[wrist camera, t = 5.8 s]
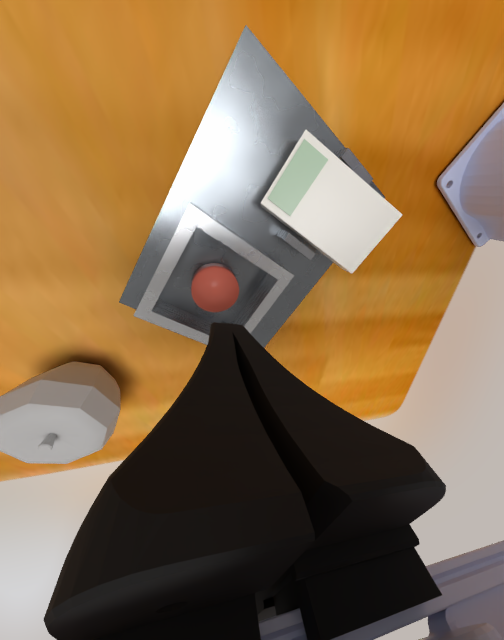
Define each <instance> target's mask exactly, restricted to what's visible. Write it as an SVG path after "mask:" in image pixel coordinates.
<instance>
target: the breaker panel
mask: <svg viewBox="0 0 504 640" xmlns="http://www.w3.org/2000/svg"><path fill="white" fill-rule="evenodd" d="M305 130H307V131H308V132H310V133H311V134H312V135H313V136H314V137H315V138H316V139H317V140H319V141H320V142H321V143H322V144H323V145H324V146H325V147H327V148H328V149H329V150H330V151H331V152H332V153H333V154H334V155H336V156H337V157H338V158H339V159H340V160H341V161H342V162H343V163H345V164H346V165H347V166H348V167H349V168H350V169H351V170H353V171H354V172H355V173H356V174H357V175H358V176H359V177H360V178H362V179H363V180H364V181H365V182H366V183H367V184H368V185H369V186H371V187H372V188H373V189H374V190H375V191H376V192H377V193H379V194H380V195H381V196H382V197H383V198H384V199H385V197H384V195H383V194H382V193H381V192H380V190H379V189H378V188H377V187H376V185H375V184H374V183H373V182H372V180H373V178H372V177H371V175H370V174H369V173H368V172H367V170H366V169H365V168H364V167H363V165H362V164H361V163H360V162H359V160H358V159H357V158H356V157H355V155H354V154H353V153H352V152H351V150H350V149H349V148H345V147H344V146H343V145H342V143H341V142H340V141H339V140H338V138H337V137H336V136H335V135H334V133H333V132H332V131H331V130H330V128H329V127H328V126H327V125H326V124H325V122H324V121H323V120H322V119H321V117H320V116H319V115H318V114H317V112H316V111H315V110H314V109H313V107H312V106H311V105H310V104H309V102H308V101H307V100H306V99H305V98H304V96H303V95H302V94H301V93H300V91H299V90H298V89H297V88H296V86H295V85H294V84H293V83H292V81H291V80H290V79H289V78H288V77H287V75H286V74H285V73H284V72H283V70H282V69H281V68H280V67H279V65H278V64H277V63H276V62H275V60H274V59H273V58H272V57H271V55H270V54H269V53H268V52H267V51H266V49H265V48H264V47H263V46H262V44H261V43H260V42H259V41H258V39H257V38H256V37H255V36H254V34H253V33H252V32H251V31H250V29H249V28H248V27H247V26H245V28H244V30H243V32H242V34H241V36H240V39H239V41H238V43H237V45H236V47H235V50H234V52H233V54H232V56H231V58H230V60H229V63H228V65H227V67H226V69H225V71H224V74H223V76H222V78H221V80H220V82H219V85H218V87H217V89H216V91H215V93H214V95H213V98H212V100H211V102H210V104H209V106H208V109H207V111H206V113H205V115H204V117H203V119H202V122H201V124H200V126H199V128H198V130H197V133H196V135H195V137H194V139H193V141H192V144H191V146H190V148H189V150H188V152H187V154H186V157H185V159H184V161H183V163H182V165H181V168H180V170H179V172H178V174H177V176H176V178H175V181H174V183H173V185H172V187H171V189H170V192H169V194H168V196H167V198H166V200H165V203H164V205H163V207H162V209H161V211H160V213H159V216H158V218H157V220H156V222H155V224H154V227H153V229H152V231H151V233H150V235H149V237H148V240H147V242H146V244H145V246H144V248H143V251H142V253H141V255H140V257H139V259H138V262H137V264H136V266H135V268H134V270H133V272H132V275H131V277H130V279H129V281H128V283H127V286H126V288H125V290H124V292H123V294H122V296H121V299H120V301H119V303H122V304H124V305H127V306H129V307H132V308H134V309H137V310H136V312H135V314H134V316H135V317H138V318H140V319H143V320H145V321H148V322H150V323H153V324H155V325H158V326H161V327H163V328H166V329H168V330H171V331H173V332H176V333H178V334H181V335H183V336H186V337H188V338H191V339H194V340H196V341H199V342H201V343H204V344H206V345H208V340H209V333H210V327H211V324H212V323H214V322H216V323H228V324H240V325H243V326H244V327H245V328H246V329H247V330H248V332H249V333H250V334H251V335H252V336H253V337H254V338H255V339H256V340H257V341H258V342H259V343H260V345H261V346H262V347H263V348H264V347H265V346H266V345H267V343H268V342H269V341H270V340H271V339H272V337H273V336H274V335H275V334H276V332H277V331H278V330H279V329H280V327H281V326H282V325H283V324H284V322H285V321H286V320H287V319H288V317H289V316H290V315H291V314H292V313H293V311H294V310H295V309H296V308H297V306H298V305H299V304H300V303H301V301H302V300H303V299H304V298H305V296H306V295H307V294H308V293H309V291H310V290H311V289H312V288H313V287H314V285H315V284H316V283H317V282H318V280H319V279H320V278H321V277H322V275H323V274H324V273H325V272H326V270H327V269H328V268H329V267H330V266H331V264H332V263H333V261H331V260H330V259H329V258H327V257H326V256H325V255H323V254H322V253H321V252H320V251H318V250H317V249H316V248H314V247H313V246H312V245H310V244H309V243H308V242H306V241H305V240H304V239H303V238H301V237H300V236H299V235H297V234H296V233H295V232H293V231H292V230H291V229H290V228H288V227H287V226H286V225H284V224H283V223H282V222H280V221H279V220H278V219H276V218H275V217H274V216H273V215H271V214H270V213H269V212H267V211H266V210H265V209H263V208H262V207H261V201H262V200H263V198H264V196H265V195H266V193H267V192H268V190H269V188H270V187H271V185H272V183H273V182H274V180H275V179H276V177H277V175H278V174H279V172H280V170H281V169H282V167H283V166H284V164H285V162H286V161H287V159H288V157H289V156H290V154H291V152H292V151H293V149H294V148H295V146H296V144H297V143H298V141H299V139H300V138H301V136H302V135H303V133H304V131H305ZM209 263H219V264H223V265H225V266H227V267H228V268H229V269H230V270H231V271H232V272H233V273H234V275H235V277H236V280H237V282H238V285H239V295H238V298H237V300H236V302H235V303H234V304H233V305H232V306H231V307H230V308H228V309H227V310H225V311H221V312H209V311H206V310H204V309H202V308H200V307H199V306H198V305H197V304H196V303H195V301H194V300H193V297H192V293H191V286H192V278H193V276H194V274H195V272H196V271H197V270H198V269H199V268H200V267H202V266H203V265H205V264H209Z"/></svg>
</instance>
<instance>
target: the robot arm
mask: <svg viewBox="0 0 504 640" xmlns="http://www.w3.org/2000/svg"><path fill="white" fill-rule="evenodd" d="M447 183H448V185H447ZM437 186H438V188H439V189H440V191H441V193H442V194H443V196H444V197H445V199H446V201H447V202H448V204H449V205H450V207H451V209H452V210H453V212H454V213H455V215H456V217H457V218H458V220H459V222H460V223H461V225H462V226H463V228H464V230H465V231H466V233H467V234H468V236H469V238H470V239H471V241H472V242H473V244H474V245H475V246H477V247H481V246H483V245H484V244H485V243H486V242H487V241H488V240H489V239H494V240H500V241H504V103H503V104H502V105H501V106H500V107H499V109H498V110H497V111H496V112H495V113H494V114H493V115H492V117H491V118H490V119H489V120H488V121H487V122H486V124H485V125H484V126H483V127H482V128H481V129H480V130H479V132H478V133H477V134H476V135H475V136H474V137H473V139H472V140H471V141H470V142H469V143H468V144H467V145H466V147H465V148H464V149H463V150H462V151H461V152H460V154H459V155H458V156H457V157H456V158H455V159H454V161H453V162H452V163H451V164H450V165H449V166H448V167H447V169H446V170H445V171H444V172H443V173H442V174H441V176H440V177H439V178H438V181H437ZM445 491H446V485H445V484H444V483H443V482H442V480H441V479H440V478H439V477H438V476H437V474H436V473H435V472H434V471H433V469H432V468H431V467H430V466H429V464H428V463H427V462H426V461H425V459H424V458H423V457H422V456H421V454H420V453H419V452H418V451H417V450H416V448H415V447H414V446H412V445H410V444H408V443H406V442H404V441H402V440H400V439H398V438H396V437H394V436H392V435H390V434H388V433H386V432H384V431H382V430H380V429H377V428H376V427H374V426H371V425H370V424H368V423H366V422H364V421H363V420H361V419H359V418H357V417H355V416H354V415H352V414H350V413H348V412H347V411H345V410H343V409H342V408H340V407H338V406H337V405H335V404H333V403H332V402H330V401H329V400H327V399H326V398H324V397H323V396H321V395H320V394H318V393H317V392H315V391H314V390H312V389H311V388H310V387H308V386H307V385H305V384H304V383H303V382H302V381H300V380H299V379H298V378H296V377H295V376H294V375H293V374H291V373H290V372H289V371H288V370H287V369H285V368H284V367H283V366H282V365H281V364H280V363H279V362H278V361H277V360H276V359H274V358H273V357H272V356H271V355H270V354H269V353H268V352H267V351H266V350H265V349H264V348H263V347H262V346H261V345H260V343H259V342H258V341H257V340H256V339H255V338H254V337H253V336H252V335H251V334H250V333H249V332H248V330H247V329H246V328H245V327H244V326H243V325H240V324H228V323H216V322H214V323H212V324H211V327H210V333H209V340H208V345H207V347H206V350H205V352H204V354H203V356H202V358H201V361H200V363H199V365H198V367H197V368H196V370H195V372H194V374H193V375H192V377H191V379H190V380H189V382H188V383H187V385H186V386H185V388H184V389H183V391H182V392H181V394H180V395H179V397H178V398H177V399H176V401H175V402H174V403H173V405H172V406H171V407H170V409H169V410H168V411H167V412H166V414H165V415H164V416H163V417H162V419H161V420H160V421H159V422H158V423H157V425H156V426H155V427H154V428H153V429H152V431H151V432H150V433H149V434H148V435H147V436H146V438H145V439H144V440H143V441H142V442H141V443H140V444H139V445H138V446H137V447H136V448H135V450H134V451H133V452H132V453H131V454H130V455H129V456H128V457H127V458H126V459H125V460H124V461H123V462H122V464H120V466H119V467H118V468H117V469H116V470H115V471H114V472H113V473H112V474H111V475H110V476H109V478H108V479H107V481H106V483H105V484H104V486H103V488H102V489H101V491H100V493H99V494H98V496H97V498H96V499H95V501H94V503H93V505H92V506H91V508H90V510H89V512H88V514H87V516H86V518H85V519H84V521H83V523H82V525H81V527H80V529H79V531H78V533H77V535H76V537H75V539H74V542H73V544H72V546H71V548H70V550H69V553H68V555H67V557H66V560H65V562H64V564H63V567H62V570H61V573H60V575H59V578H58V581H57V584H56V587H55V589H54V592H53V595H52V598H51V600H50V603H49V606H48V609H47V611H46V614H45V617H44V622H45V625H46V628H47V630H48V632H49V634H50V635H52V636H53V637H54V638H56V639H57V640H374V639H376V638H378V637H380V636H383V635H385V634H388V633H390V632H392V631H394V630H397V629H399V628H402V627H404V626H406V625H409V624H411V623H414V622H416V621H418V620H421V619H423V618H425V617H428V625H429V630H430V634H429V636H428V637H426V638H422V639H419V640H504V541H501V542H498V543H495V544H492V545H489V546H486V547H483V548H480V549H477V550H474V551H471V552H468V553H464V554H462V555H459V556H456V557H452V558H449V559H446V560H444V561H440V562H437V563H434V564H432V565H428V566H425V565H424V563H423V561H422V560H421V558H420V556H419V555H418V553H417V551H416V550H415V548H414V547H415V546H417V545H419V539H418V538H417V536H416V534H415V533H414V531H413V529H412V528H411V526H410V525H409V524H410V523H411V522H413V521H414V520H415V519H417V518H418V517H419V516H421V515H422V514H423V513H425V512H426V511H428V510H429V509H430V508H432V507H433V506H434V505H435V504H437V503H438V502H439V501H440V500H441V499H442V498H443V496H444V494H445Z"/></svg>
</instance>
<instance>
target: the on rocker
mask: <svg viewBox="0 0 504 640" xmlns="http://www.w3.org/2000/svg"><path fill="white" fill-rule="evenodd" d="M261 207H262V208H263V209H265V210H266V211H267V212H269V213H270V214H271V215H273V216H274V217H275V218H276V219H278V220H279V221H280V222H282V223H283V224H284V225H286V226H287V227H288V228H290V229H291V230H292V231H293V232H295V233H296V234H297V235H299V236H300V237H301V238H303V239H304V240H305V241H306V242H308V243H309V244H310V245H312V246H313V247H314V248H316V249H317V250H318V251H320V252H321V253H322V254H323V255H325V256H326V257H327V258H329V259H330V260H331V261H333V262H334V263H335V264H336V265H338V266H339V267H340V268H342V269H343V270H345V271H347V272H350V273H353V272H354V271H355V270H356V268H357V267H358V266H359V265H360V264H361V263H362V261H363V260H364V259H365V258H366V257H367V256H368V254H369V253H370V252H371V251H372V250H373V249H374V247H375V246H376V245H377V244H378V243H379V242H380V241H381V239H382V238H383V237H384V236H385V235H386V234H387V232H388V231H389V230H390V229H391V228H392V227H393V225H394V224H395V223H396V222H397V221H398V220H399V218H400V217H401V216H402V214H401V213H400V212H399V211H398V210H397V209H395V208H394V207H393V206H392V205H391V204H390V203H389V202H388V201H386V200H385V199H384V198H383V197H382V196H381V195H380V194H379V193H377V192H376V191H375V190H374V189H373V188H372V187H371V186H369V185H368V184H367V183H366V182H365V181H364V180H363V179H362V178H360V177H359V176H358V175H357V174H356V173H355V172H354V171H353V170H351V169H350V168H349V167H348V166H347V165H346V164H345V163H343V162H342V161H341V160H340V159H339V158H338V157H337V156H336V155H334V154H333V153H332V152H331V151H330V150H329V149H328V148H327V147H325V146H324V145H323V144H322V143H321V142H320V141H319V140H317V139H316V138H315V137H314V136H313V135H312V134H311V133H310V132H308V131H307V130H305V131H304V133H303V135H302V136H301V138H300V139H299V141H298V143H297V144H296V146H295V148H294V149H293V151H292V152H291V154H290V156H289V157H288V159H287V161H286V162H285V164H284V166H283V167H282V169H281V170H280V172H279V174H278V175H277V177H276V179H275V180H274V182H273V183H272V185H271V187H270V188H269V190H268V192H267V193H266V195H265V196H264V198H263V200H262V201H261Z"/></svg>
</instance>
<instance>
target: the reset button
mask: <svg viewBox="0 0 504 640" xmlns="http://www.w3.org/2000/svg"><path fill="white" fill-rule="evenodd" d="M191 293H192V297H193V300H194V301H195V303H196V304H197V305H198V306H199V307H200V308H202V309H204V310H206V311H209V312H221V311H225V310H227V309H228V308H230V307H231V306H232V305H233V304H234V303H235V302H236V300H237V298H238V295H239V285H238V282H237V280H236V277H235V275H234V273H233V272H232V271H231V270H230V269H229V268H228V267H227V266H225V265H223V264H219V263H209V264H205V265H203V266H202V267H200V268H199V269H198V270H197V271H196V272H195V274H194V276H193V278H192V286H191Z"/></svg>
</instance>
